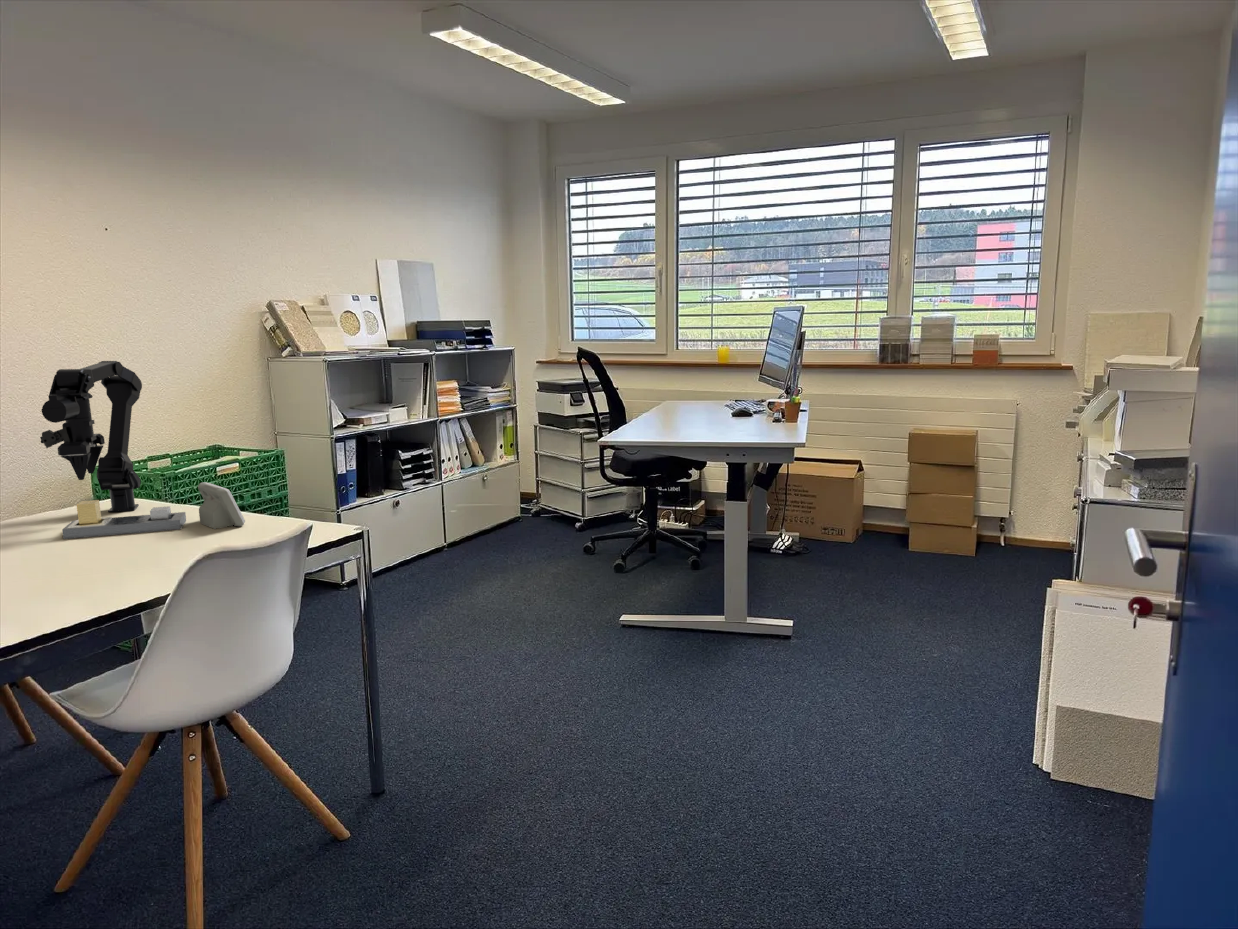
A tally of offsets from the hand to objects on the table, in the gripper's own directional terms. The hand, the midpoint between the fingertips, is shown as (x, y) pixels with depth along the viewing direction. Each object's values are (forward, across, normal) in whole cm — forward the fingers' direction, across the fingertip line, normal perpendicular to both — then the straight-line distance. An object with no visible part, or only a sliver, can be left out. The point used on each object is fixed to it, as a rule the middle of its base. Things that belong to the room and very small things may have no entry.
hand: (86, 476), depth 211 cm
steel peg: (+13, +9, +18) cm, 24 cm away
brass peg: (+13, +9, +2) cm, 16 cm away
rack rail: (+13, +10, +10) cm, 19 cm away
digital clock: (+13, +11, +33) cm, 37 cm away
